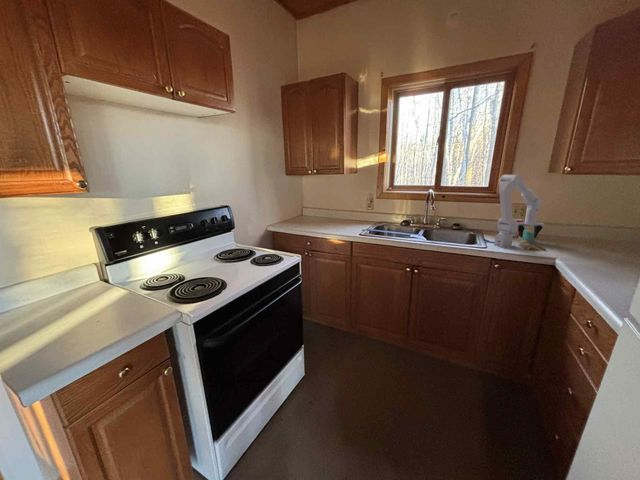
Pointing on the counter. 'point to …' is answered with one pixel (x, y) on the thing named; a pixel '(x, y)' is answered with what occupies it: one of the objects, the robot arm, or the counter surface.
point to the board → (528, 235)
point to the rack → (536, 248)
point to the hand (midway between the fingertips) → (527, 237)
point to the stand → (527, 241)
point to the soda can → (517, 230)
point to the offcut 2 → (526, 246)
